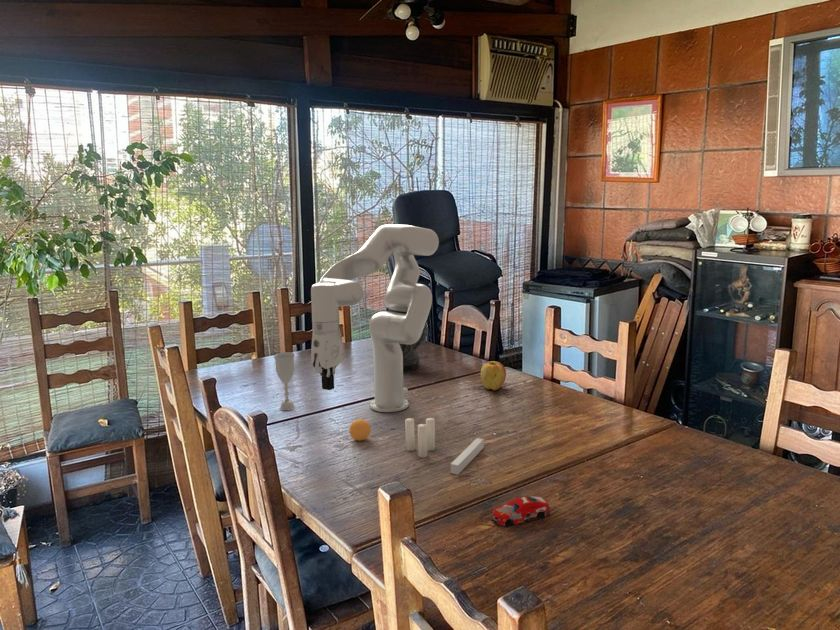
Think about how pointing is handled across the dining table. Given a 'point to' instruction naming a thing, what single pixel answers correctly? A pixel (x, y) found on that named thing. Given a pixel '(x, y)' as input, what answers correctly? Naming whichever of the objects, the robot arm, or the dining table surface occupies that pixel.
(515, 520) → the race car
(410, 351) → the beer stein
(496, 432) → the dining table surface
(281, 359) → the chalice
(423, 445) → the pin
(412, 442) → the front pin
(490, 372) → the apple
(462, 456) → the white rectangular bar
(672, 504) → the dining table surface
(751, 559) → the dining table surface
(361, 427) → the ball
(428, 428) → the pin
